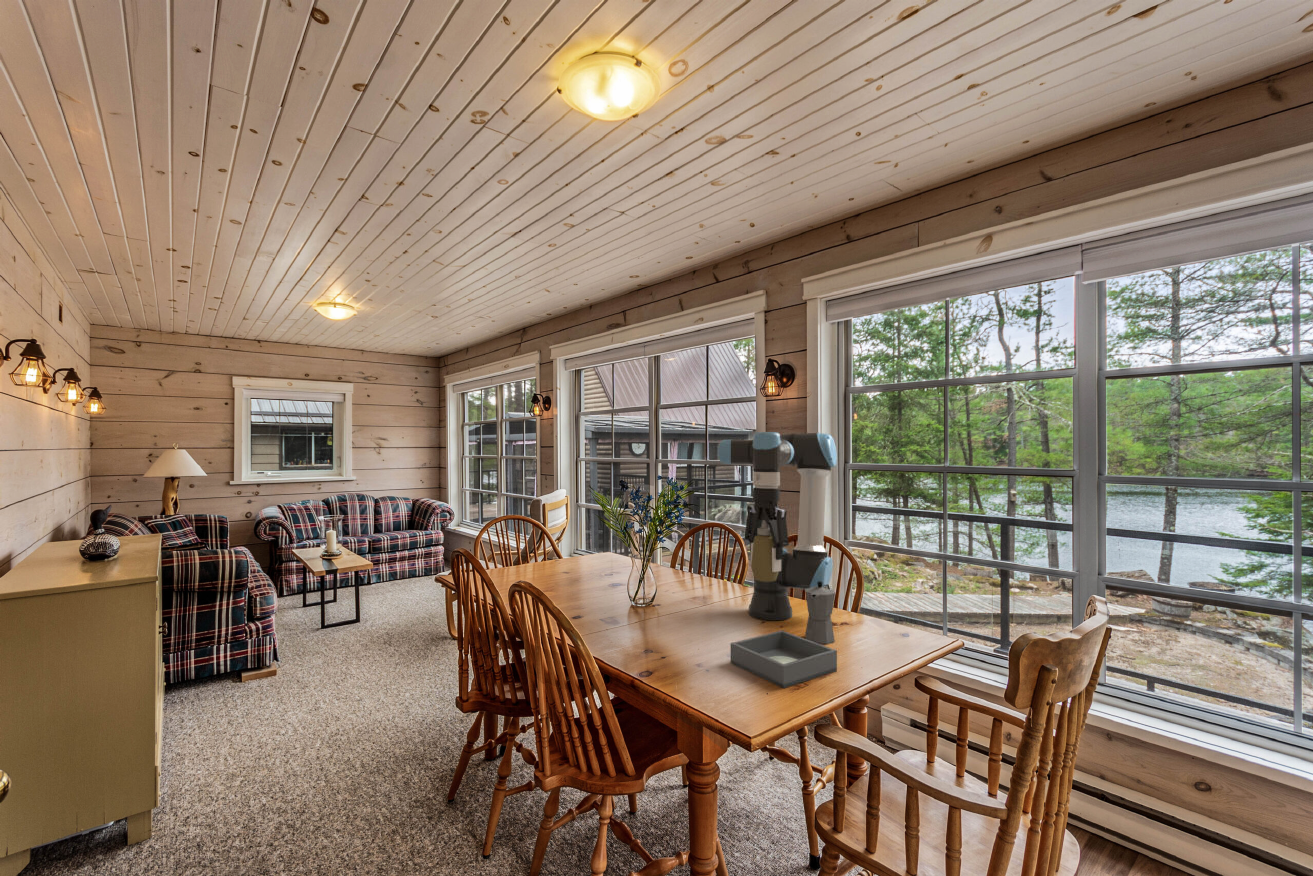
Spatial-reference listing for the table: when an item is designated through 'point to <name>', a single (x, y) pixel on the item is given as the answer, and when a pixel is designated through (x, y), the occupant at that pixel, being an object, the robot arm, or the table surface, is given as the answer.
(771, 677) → the bin
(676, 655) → the table surface
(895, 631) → the table surface
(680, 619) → the table surface
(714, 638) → the table surface
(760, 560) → the squeeze bottle
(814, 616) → the coffeepot
